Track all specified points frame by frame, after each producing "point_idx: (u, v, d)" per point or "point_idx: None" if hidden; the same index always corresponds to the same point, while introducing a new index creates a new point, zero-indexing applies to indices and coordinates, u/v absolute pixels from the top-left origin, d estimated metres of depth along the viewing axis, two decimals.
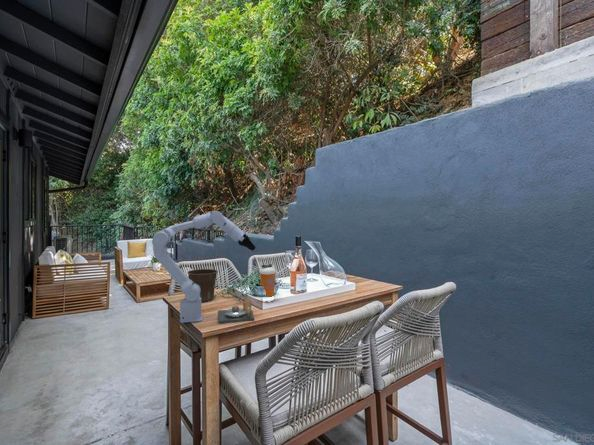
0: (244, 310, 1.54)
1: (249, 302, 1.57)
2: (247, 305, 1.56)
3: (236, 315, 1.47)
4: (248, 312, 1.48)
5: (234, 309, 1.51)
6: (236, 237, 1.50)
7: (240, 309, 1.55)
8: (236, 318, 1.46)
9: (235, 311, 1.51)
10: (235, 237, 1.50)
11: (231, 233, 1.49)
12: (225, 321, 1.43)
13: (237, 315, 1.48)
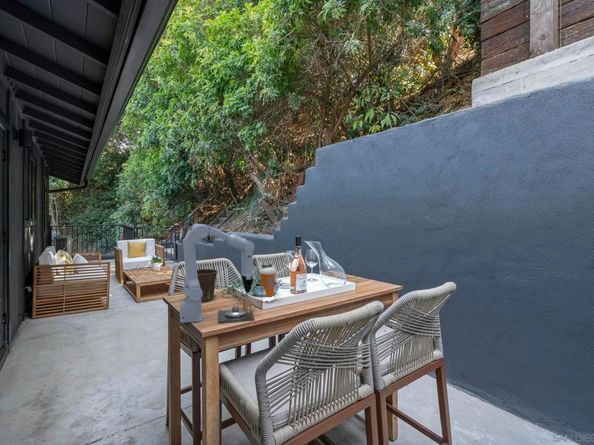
0: (244, 310, 1.54)
1: (249, 302, 1.57)
2: (247, 305, 1.56)
3: (236, 315, 1.47)
4: (248, 312, 1.48)
5: (234, 309, 1.51)
6: (245, 273, 1.60)
7: (240, 309, 1.55)
8: (236, 318, 1.46)
9: (235, 311, 1.51)
10: (244, 272, 1.60)
11: (245, 267, 1.60)
12: (225, 321, 1.43)
13: (237, 315, 1.48)
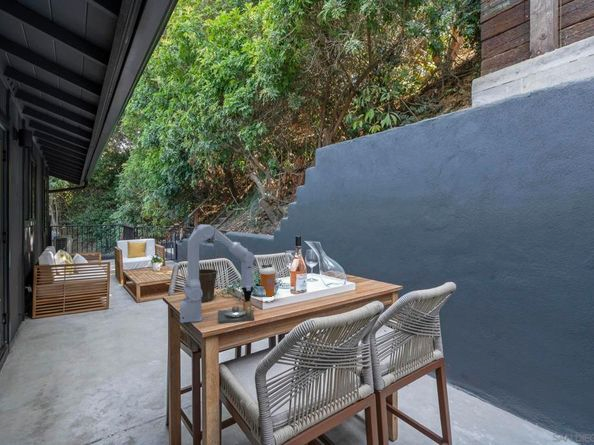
0: (244, 310, 1.54)
1: (249, 302, 1.57)
2: (247, 305, 1.56)
3: (236, 315, 1.47)
4: (248, 312, 1.48)
5: (234, 309, 1.51)
6: (245, 283, 1.60)
7: (240, 309, 1.55)
8: (236, 318, 1.46)
9: (235, 311, 1.51)
10: (244, 283, 1.60)
11: (245, 277, 1.60)
12: (225, 321, 1.43)
13: (237, 315, 1.48)
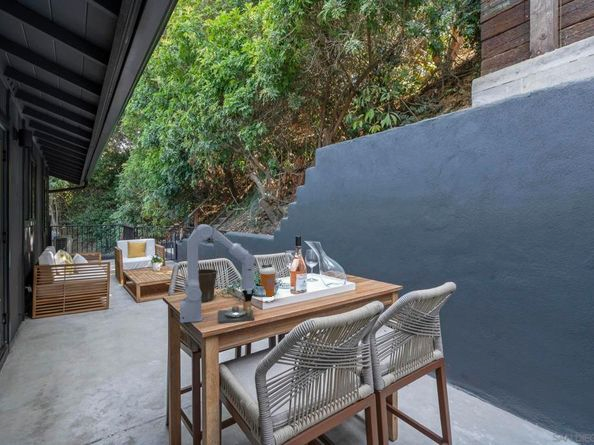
0: (244, 310, 1.54)
1: (249, 302, 1.57)
2: (247, 305, 1.56)
3: (236, 315, 1.47)
4: (248, 312, 1.48)
5: (234, 309, 1.51)
6: (246, 286, 1.57)
7: (240, 309, 1.55)
8: (236, 318, 1.46)
9: (235, 311, 1.51)
10: (245, 285, 1.57)
11: (245, 280, 1.57)
12: (225, 321, 1.43)
13: (237, 315, 1.48)
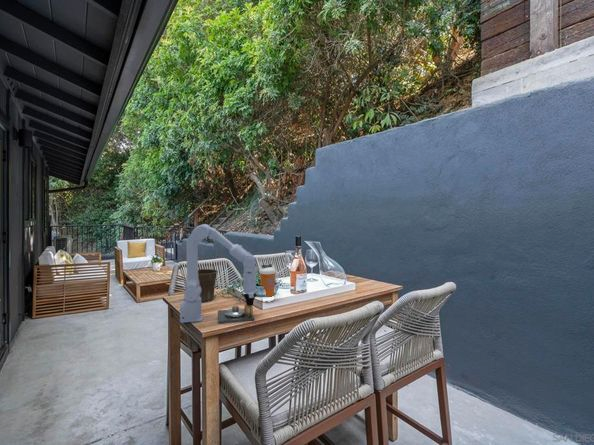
0: (241, 313, 1.50)
1: None
2: None
3: (226, 314, 1.49)
4: (248, 312, 1.48)
5: (232, 308, 1.52)
6: (247, 290, 1.49)
7: (242, 311, 1.52)
8: (236, 318, 1.46)
9: (232, 311, 1.51)
10: (247, 289, 1.49)
11: (247, 283, 1.49)
12: (225, 321, 1.43)
13: (227, 315, 1.48)
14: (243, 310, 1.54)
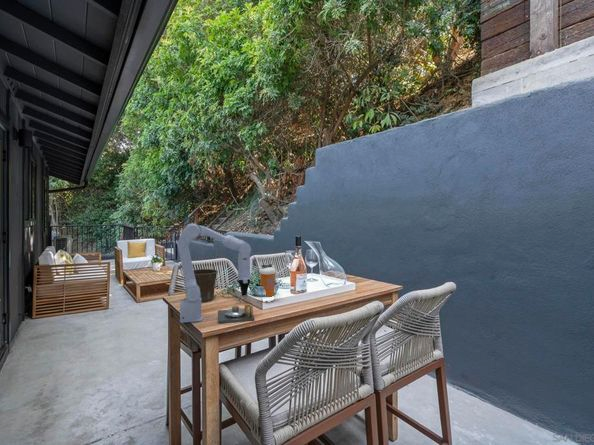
0: (241, 313, 1.50)
1: None
2: None
3: (226, 314, 1.49)
4: (248, 312, 1.48)
5: (232, 308, 1.52)
6: (242, 276, 1.53)
7: (242, 311, 1.52)
8: (236, 318, 1.46)
9: (232, 311, 1.51)
10: (241, 275, 1.53)
11: (241, 269, 1.53)
12: (225, 321, 1.43)
13: (227, 315, 1.48)
14: (243, 310, 1.54)
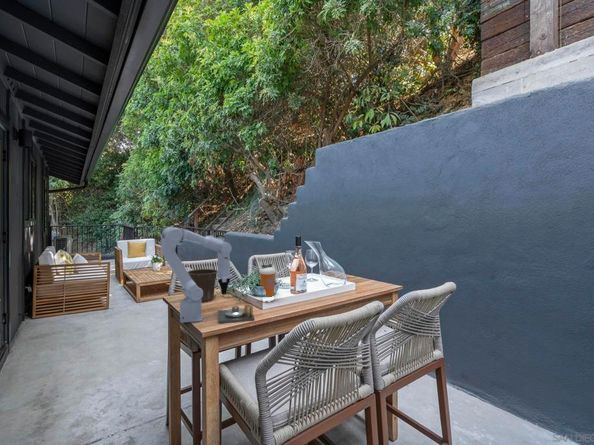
0: (241, 313, 1.50)
1: None
2: None
3: (226, 314, 1.49)
4: (248, 312, 1.48)
5: (232, 308, 1.52)
6: (221, 275, 1.54)
7: (242, 311, 1.52)
8: (236, 318, 1.46)
9: (232, 311, 1.51)
10: (220, 274, 1.55)
11: (221, 269, 1.54)
12: (225, 321, 1.43)
13: (227, 315, 1.48)
14: (243, 310, 1.54)
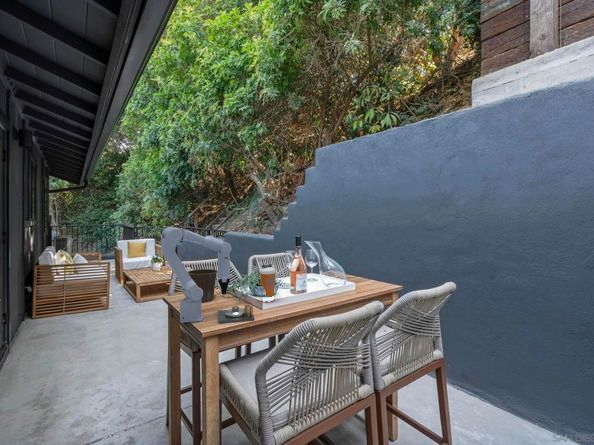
0: (241, 313, 1.50)
1: None
2: None
3: (226, 314, 1.49)
4: (248, 312, 1.48)
5: (232, 308, 1.52)
6: (221, 275, 1.54)
7: (242, 311, 1.52)
8: (236, 318, 1.46)
9: (232, 311, 1.51)
10: (220, 274, 1.55)
11: (221, 269, 1.54)
12: (225, 321, 1.43)
13: (227, 315, 1.48)
14: (243, 310, 1.54)
